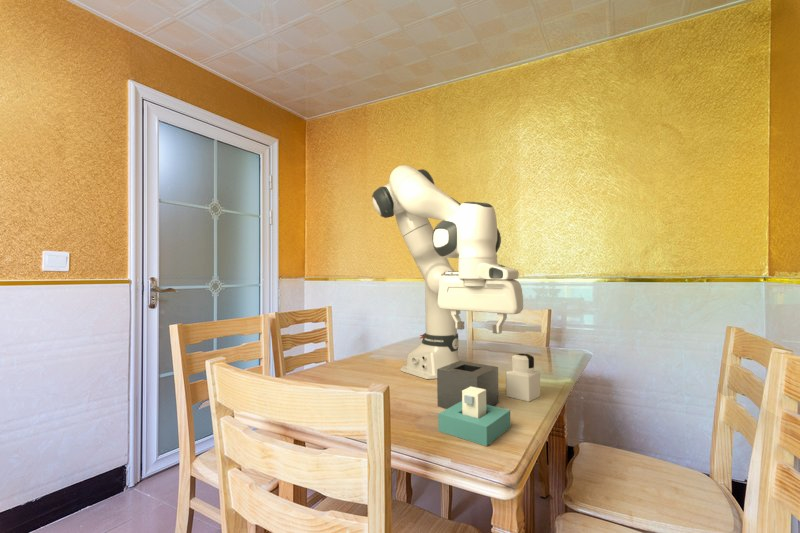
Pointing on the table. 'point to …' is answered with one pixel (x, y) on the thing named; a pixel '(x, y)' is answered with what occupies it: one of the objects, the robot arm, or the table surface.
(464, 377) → the dark grey square frame
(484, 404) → the plug
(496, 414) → the block
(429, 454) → the table surface
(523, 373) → the medicine bottle
